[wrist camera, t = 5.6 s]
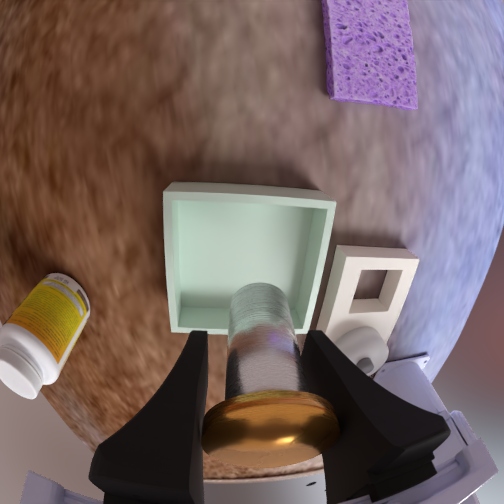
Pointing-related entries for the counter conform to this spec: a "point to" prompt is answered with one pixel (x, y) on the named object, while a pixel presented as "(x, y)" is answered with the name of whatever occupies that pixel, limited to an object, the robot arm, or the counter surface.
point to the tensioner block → (365, 302)
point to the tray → (242, 249)
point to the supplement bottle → (42, 334)
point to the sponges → (370, 52)
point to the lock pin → (266, 390)
